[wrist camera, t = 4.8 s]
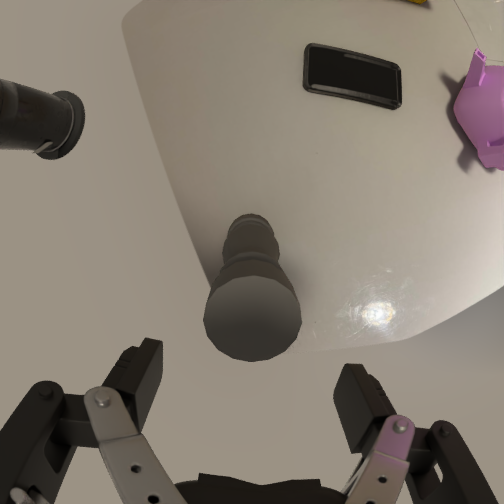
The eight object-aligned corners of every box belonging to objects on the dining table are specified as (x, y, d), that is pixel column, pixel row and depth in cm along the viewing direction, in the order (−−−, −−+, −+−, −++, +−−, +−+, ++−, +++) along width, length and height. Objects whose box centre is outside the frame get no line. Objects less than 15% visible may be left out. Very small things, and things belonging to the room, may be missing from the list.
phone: (401, 109, 35) (303, 88, 34) (398, 111, 36) (302, 90, 35) (400, 64, 33) (306, 41, 32) (397, 66, 34) (304, 44, 34)
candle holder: (237, 263, 42) (223, 375, 17) (221, 222, 40) (180, 292, 16) (279, 248, 41) (318, 346, 17) (264, 207, 40) (287, 254, 15)
